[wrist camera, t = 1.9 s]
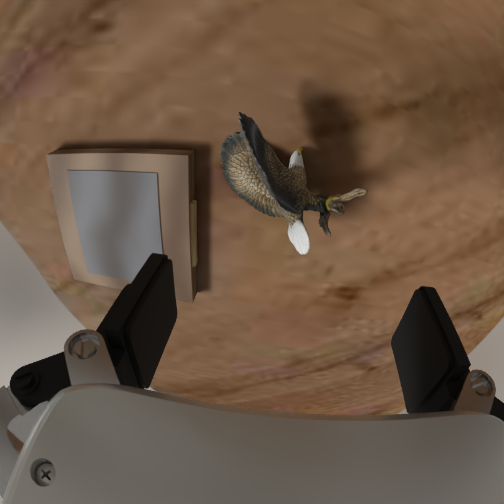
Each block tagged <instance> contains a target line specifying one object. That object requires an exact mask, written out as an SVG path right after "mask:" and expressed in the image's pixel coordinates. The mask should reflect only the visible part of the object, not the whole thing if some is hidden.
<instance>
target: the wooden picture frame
mask: <svg viewBox="0 0 504 504" xmlns="http://www.w3.org/2000/svg"><path fill="white" fill-rule="evenodd" d="M47 162H48V169H49V175H50V181H51V187H52V192H53V198H54V203H55V208H56V212H57V217H58V221H59V226H60V230H61V234H62V238H63V242H64V246H65V250H66V253H67V257H68V260H69V264H70V267H71V271H72V274H73V277H74V279H75V280H80V281H84V282H89V283H93V284H98V285H102V286H107V287H112V288H117V289H122V290H123V288H124V287H125V286H126V285H127V284H131V283H132V281H133V280H134V278H135V277H136V275H137V274H138V272H139V271H140V269H141V268H142V266H143V265H144V263H145V262H146V260H147V259H148V258H149V256H150V255H151V254H152V253H158V254H165V255H167V256H168V259H171V260H172V263H173V274H174V286H175V296H176V300H180V301H185V302H191V303H193V301H194V299H195V296H196V294H197V285H196V264H197V262H198V257H197V200H194V150H175V149H144V148H94V149H65V150H55V151H53V152H51V153H49V154H47Z"/></svg>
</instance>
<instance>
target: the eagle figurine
mask: <svg viewBox="0 0 504 504" xmlns="http://www.w3.org/2000/svg"><path fill="white" fill-rule="evenodd" d="M238 114H239V123H240V125H241V126H240V127H241V129H242V131H243V132H241V133H240V134H238V133H234V134H233V136H232V137H231V136H227V137H226V138H225V142H222V144H221V147H222V151H221V152H220V156H221V158H222V160H223V161H224V162H222V163H221V166H222V167H223V169H224V170H223V174H224V177H225V179H226V180H227V183H228V185H229V186H231V189H232V190H233V191H235V192H236V193H237V195H239V196H240V197H241V198H242V199H244V200H245V201H246V202H248V203H249V204H250V205H251V206H253V207H254V208H255V209H257V210H258V211H260V212H262V213H264V214H267V215H269V216H273V217H275V216H279V217H280V216H282V217H285V219H286V220H287V222H288V223H289V228H288V235H289V239H290V241H291V242H292V244H293V245H294V246H295V248H296V250H297V251H299V253H300V254H301V255H303V254H307V252H308V251H309V248H310V239H309V235H308V232H307V230H306V228H305V226H304V224H303V210H306V211H308V210H313V211H320V219H319V224H320V227H322V228H323V230H324V232H325V234H326V235H328V236H331V233H330V230H329V228H328V220H329V216H330V211H331V210H332V211H334V212H335V213H337V214H339V215H342V214H344V206H343V205H344V204H345V203H347V202H349V201H350V200H352V199H353V198H355V197H358V196H359V197H360V196H363V195H365V194H367V190H366V189H361V188H356V189H354V190H352V191H349V192H347V193H345V194H336V195H332V196H328V195H326V194H320V195H314V194H312V193H310V192H309V191H308V189H307V187H306V185H307V178H306V172H305V169H304V165H303V159H302V150H303V148H302V147H299V148H298V149H297V150H296V151H295V152H294V153H293V154H292V156H291V158H290V163H289V168H287V167H285V166H284V165H283V164H282V163H281V162H280V161H279V159H278V158H277V156H276V154H275V152H274V150H273V149H272V147H271V146H270V145H269V144H268V143H267V142H266V141H265V139H264V138H263V136H262V133H261V131H260V129H259V128H258V126H257V125H256V123H255V122H254V120H253V119H252V118H250V117H247V116H246V115H245V114H242V113H241V112H239V113H238Z"/></svg>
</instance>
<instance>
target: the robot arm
mask: <svg viewBox="0 0 504 504" xmlns="http://www.w3.org/2000/svg"><path fill="white" fill-rule="evenodd" d="M176 319H177V306H176V296H175V286H174V274H173V263H172V260H171V259H168V256H167V255H165V254H158V253H152V254H151V255H150V256H149V258H148V259H147V260H146V262H145V263H144V265H143V266H142V268H141V269H140V271H139V272H138V274H137V275H136V277H135V278H134V280H133V281H132V283H131V284H127V285H126V286H125V287H124V288H123V290H122V291H121V293H120V294H119V296H118V297H117V299H116V300H115V302H114V304H113V305H112V307H111V308H110V310H109V311H108V313H107V314H106V316H105V318H104V319H103V321H102V322H101V324H100V325H99V327H98V329H97V330H96V331H94V330H88V329H85V330H80V331H78V332H75V333H74V334H72V335H71V336H70V337H69V338H68V339H67V340H66V342H65V345H64V352H61V353H59V354H56V355H53V356H50V357H48V358H45V359H42V360H39V361H37V362H34V363H31V364H28V365H25V366H23V367H21V368H19V369H18V370H17V371H15V372H14V374H13V375H12V377H11V380H10V386H8V387H7V388H6V387H5V386H2V387H1V388H0V495H1V496H2V498H3V501H2V504H504V403H503V402H501V401H500V400H499V399H497V398H496V397H495V392H496V388H495V383H494V381H493V379H492V378H491V377H490V376H489V375H488V374H487V373H486V372H483V371H482V370H472V371H471V372H470V370H469V367H470V365H471V364H470V361H469V359H468V357H467V354H466V352H465V350H464V347H463V345H462V343H461V340H460V338H459V336H458V334H457V332H456V329H455V327H454V325H453V323H452V321H451V319H450V317H449V315H448V313H447V311H446V309H445V307H444V305H443V303H442V301H441V299H440V297H439V295H438V293H437V291H436V289H435V288H433V287H425V286H421V287H420V288H419V289H417V290H415V292H414V294H413V296H412V298H411V300H410V302H409V305H408V307H407V309H406V311H405V313H404V315H403V317H402V319H401V321H400V323H399V325H398V327H397V329H396V331H395V333H394V335H393V337H392V340H391V346H392V350H393V354H394V357H395V361H396V365H397V369H398V374H399V378H400V382H401V387H402V391H403V396H404V400H405V405H406V409H407V412H408V413H409V414H396V415H326V414H306V413H292V412H281V411H271V410H261V409H253V408H245V407H238V406H231V405H224V404H218V403H212V402H206V401H201V400H195V399H190V398H184V397H179V396H174V395H169V394H165V393H160V392H155V391H151V390H146V389H144V388H149V386H150V384H151V381H152V379H153V376H154V374H155V371H156V369H157V366H158V364H159V361H160V359H161V356H162V354H163V351H164V349H165V346H166V344H167V341H168V339H169V337H170V334H171V332H172V329H173V327H174V324H175V322H176Z"/></svg>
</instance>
